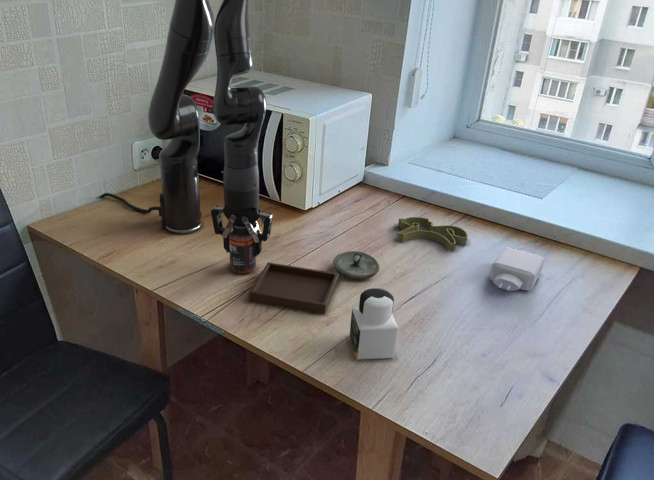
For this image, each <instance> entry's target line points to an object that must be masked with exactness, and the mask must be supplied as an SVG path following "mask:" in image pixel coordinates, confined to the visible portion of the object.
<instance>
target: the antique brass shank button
mask: <svg viewBox="0 0 654 480" xmlns="http://www.w3.org/2000/svg"><path fill="white" fill-rule="evenodd" d="M332 262H333V263H332V264H333V268H334V269H335V270H336V271H337V273H339V274H341V275H342V276H345V277H347V278H350V279H354V280H366V279H369V278H372V277H374V276H375V275H377V274H378V272H379V271H380V264H379V263H378V261H377V259H375V257H373V256H372V255H370V254H368V253H366V252H363V251H357V250H354V251H353V250H352V251H344V252H340V253H338V254H337V255H336V256H335V257H334V258H333V261H332Z"/></svg>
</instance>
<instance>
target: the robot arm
mask: <svg viewBox="0 0 654 480" xmlns="http://www.w3.org/2000/svg"><path fill="white" fill-rule="evenodd" d="M250 29H251V26H250V0H222V2H221V4H220V7H219V9H218V11H217V14H216V18H215V15H214V11H213V9H212V6H211V3H210V0H174V5H173V10H172V13H171V18H170V22H169V27H168V31H167V32H168V33H167V37H166V44H165V50H164V54H163V58H162V62H161V66H160V69H159V70H160V71H159V75H158V77H157V81H156V85H155V87H154V90H153V93H152V96H151V99H150V102H149V106H148V110H147V111H148V112H147V123H148V127H149V131H150V132H151V134H152V135H153V137H155V138H156V139H158V140H161V141H168V140H170V141H169V142H168V144H167V145H166V146H164V147H163V148H162V149H161V150H160V152H159V155H158V159H159V169H160V170H159V171H160V180H161V192H160V193H159V195H158V196H159V204H160V205H159V206H150V207H148V209H145V208H141V207H137V206H135V205H133V204H131V203H130V202H128V201H127V200H126V199H125V198H123V197H121V196H118V195H116V194H113V193H111V192H104V193H102V194H103V195H102V194H101V195H100V196H99V198H100V199H103V198H105V197H109V198H113V199H115V200H117V201H120V202H122V203H123V204H124V205H125V206H126V207H128V208H129V209H132V210H134V211H137V212H139V213H144V214H150V213H152V211H158V216H159V217H161V226H162V229H163V230H166V231H168V233H169V232H170V233H173V234H176V235H177V234H178V235H179V234H180V235H184V234H185V235H186V234H192V233H194V232H197V231H199V230H200V229H201V227H202V226H203V225H202V224H203V223H202V218H203V216H202V211H201V197H200V196H201V195H200V181H199V165H198V156H199V154H200V149H201V146H200V145H201V144H200V143H201V141H200V140H201V137H200V136H201V135H200V134H201V133H200V132H201V129H200V128H201V127H200V126H201V125H200V124H201V122H200V114H199V109H198V106H197V104H196V102H195V100H194V99H193V98H192V97H191V96H190V95H187V94H184V92H185V90H186V88H187V87H188V85H189V84H190V82H192V80H193V78H195V76H196V75H197V74H198V72H199V71H200V70H201V68H202V67H203V65H204V64H205V63H206V60H207V59H208V56H209V53H210V52H211V47H212V43H213V39H214V49H215V57H216V81H215V90H214V96H213V101H212V102H213V103H212V111H213V115H214V118H215V119H216V121H217V122H218V123H219V124H221V125H222V126H233V125H244V126H243V127H242V128H241V129H240V130H238V131H236V132H232V133H230V134H228V135H226V136H225V137H224V139H223V172H222V175H223V176H222V184H223V201H224V202H223V204H224V206H222V207H221V206H220V205H215V206H214V207H213V208H212V209H211V210H210V215H211V220H212V225H213V230H214V234H215V235H220V236H222V241H223V243H222V244H223V250H225V253H229V254H230V247H229V235H230V233H231V232H232V231H233V225H235V226H242V227H246V228H247V230H248V232H249V234H251V235H252V238H253V240H254V242H253V256H255V257H256V258H257V257H258V256H259V255H260V254H261V253H262V250H263V242H267V241H268V240H269V238H270V237H271V231H272V226H273V220H274V214H273V213H272V212H268V213H264V212H262V211H261V209H260V171H259V161H258V160H259V159H258V156H259V153H258V146H259V140H260V136H261V130H262V127H263V124H264V120H265V116H266V112H267V105H268V104H267V103H268V102H267V98H266V97H267V96H266V95H265V93H264V91H263V90H262V89H261V88H260V87H259V86H255V85H249V86H236V87H231V86H232V81H233V79H234V78H236V77H238V76H242V75H245V74H248V73H250V72H251V71H252V70H253V68H254V59H253V58H254V57H253V47H252V40H251V38H252V37H251V30H250ZM223 215H224V217H225V218H226V220H227V223H226V225H225V227H224V224H223V223H224V222H223V218H222V216H223ZM259 219H260V220H261V224H263V228H262V232H261V229H260V225H259V222H258V220H259Z"/></svg>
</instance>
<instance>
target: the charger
mask: <svg viewBox="0 0 654 480" xmlns="http://www.w3.org/2000/svg"><path fill="white" fill-rule="evenodd" d="M544 264H545V258H544V257H543V256H541V255H539V254H536V253H531V252H528V251H524V250H520V249H516V248H513V247H504V248H503V249H502V250H501V251H500V253H499V254H498V255H497V257H496V258H495V259H494V260H493V262H492V263H491V265H490V269H489V275H488V278H489V279H490V281H492V282H493V284H494V285H495V286H496V287H497V288H498V289H502V290H506V291H508V292H509V291H510V292H512V291H517V290H522V291H531V290H532V289H533V287H534V285H535V284H536V282H537V281H538V278H539V277H540V275H541V273H542V272H543V267H544Z"/></svg>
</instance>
